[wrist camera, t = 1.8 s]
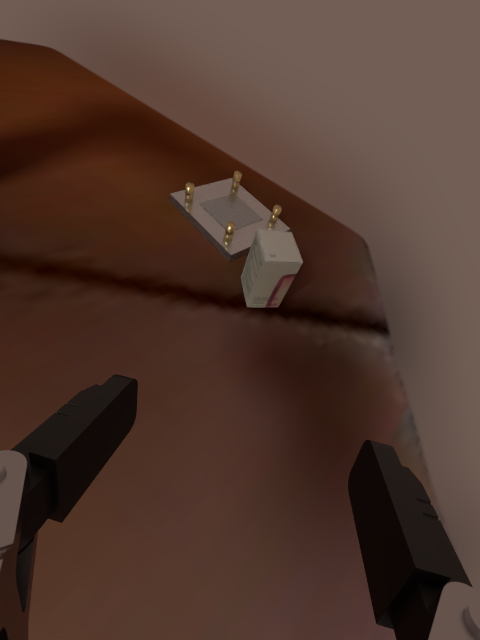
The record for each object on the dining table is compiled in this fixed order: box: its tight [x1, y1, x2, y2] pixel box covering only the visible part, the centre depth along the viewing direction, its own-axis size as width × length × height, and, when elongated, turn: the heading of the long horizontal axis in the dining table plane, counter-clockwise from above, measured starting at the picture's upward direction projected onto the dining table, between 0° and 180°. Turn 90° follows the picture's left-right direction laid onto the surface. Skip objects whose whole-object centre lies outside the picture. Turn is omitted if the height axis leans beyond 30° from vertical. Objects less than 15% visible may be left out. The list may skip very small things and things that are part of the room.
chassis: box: [170, 171, 290, 262], centre depth 41 cm, size 14×12×4 cm
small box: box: [241, 229, 303, 308], centre depth 33 cm, size 5×4×8 cm
